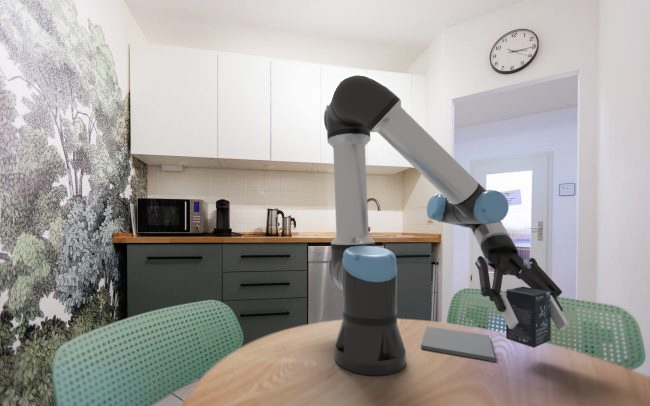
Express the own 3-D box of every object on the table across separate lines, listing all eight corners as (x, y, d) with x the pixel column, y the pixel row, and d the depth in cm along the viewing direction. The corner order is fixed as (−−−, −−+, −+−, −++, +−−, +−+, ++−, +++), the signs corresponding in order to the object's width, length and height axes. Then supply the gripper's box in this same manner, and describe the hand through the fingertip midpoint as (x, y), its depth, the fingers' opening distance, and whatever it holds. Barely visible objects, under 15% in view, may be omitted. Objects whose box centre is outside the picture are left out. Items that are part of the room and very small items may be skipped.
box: (535, 349, 59) (534, 294, 60) (505, 339, 64) (504, 289, 65) (552, 341, 63) (551, 290, 64) (522, 332, 68) (522, 285, 69)
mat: (421, 348, 69) (421, 345, 69) (427, 329, 82) (426, 326, 82) (495, 361, 63) (494, 357, 63) (489, 338, 76) (488, 335, 76)
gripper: (531, 253, 80) (583, 337, 63) (448, 251, 80) (477, 333, 63) (545, 234, 75) (605, 319, 58) (456, 231, 75) (490, 315, 59)
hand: (538, 326), depth 61 cm, fingers closed on box, 9 cm apart
